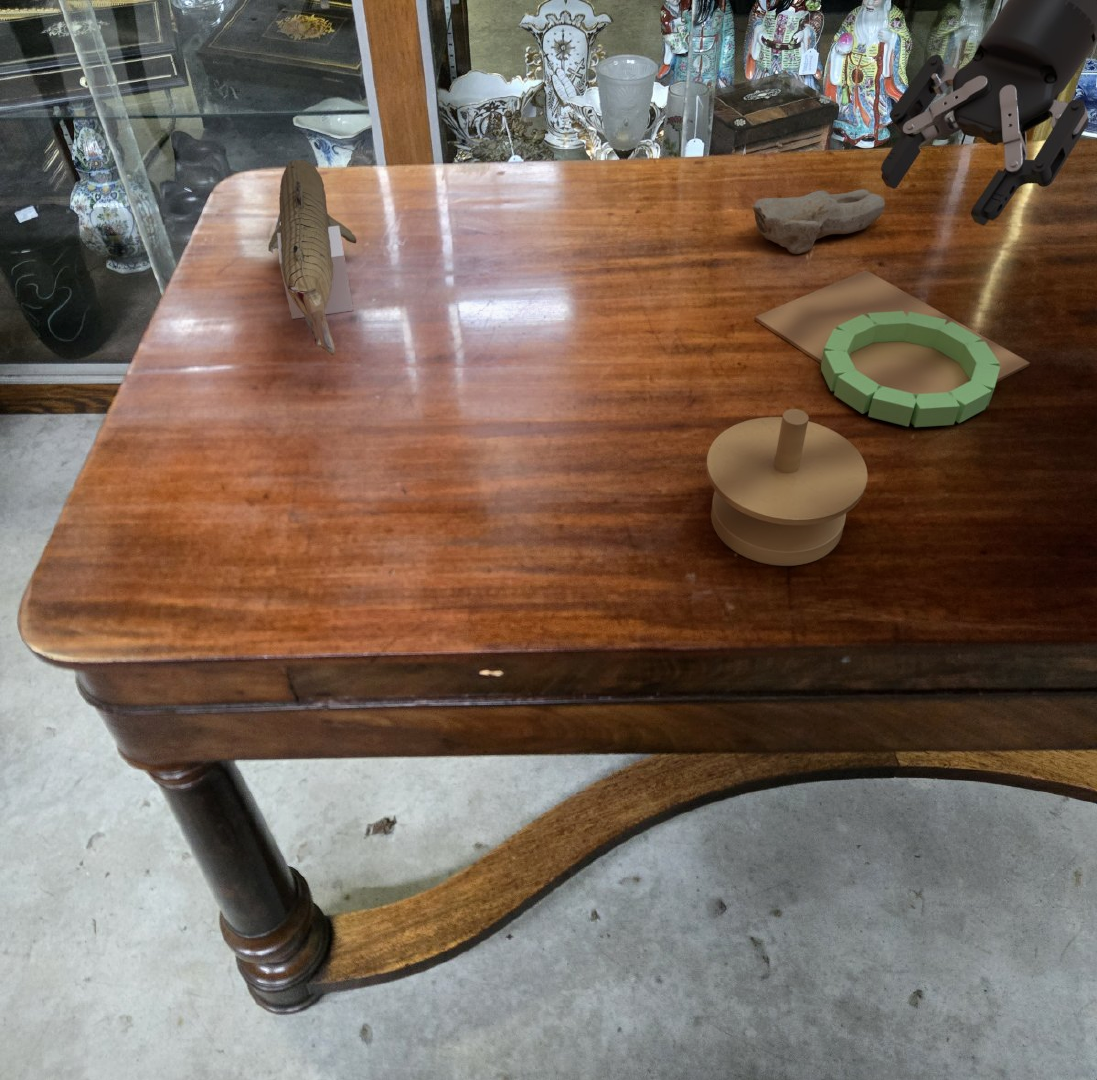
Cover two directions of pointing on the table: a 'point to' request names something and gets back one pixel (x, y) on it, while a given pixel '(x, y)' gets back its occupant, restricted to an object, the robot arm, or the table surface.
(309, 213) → the wood carving
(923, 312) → the mat
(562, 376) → the table surface
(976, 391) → the ring
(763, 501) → the stand
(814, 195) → the sculpture
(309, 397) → the table surface
